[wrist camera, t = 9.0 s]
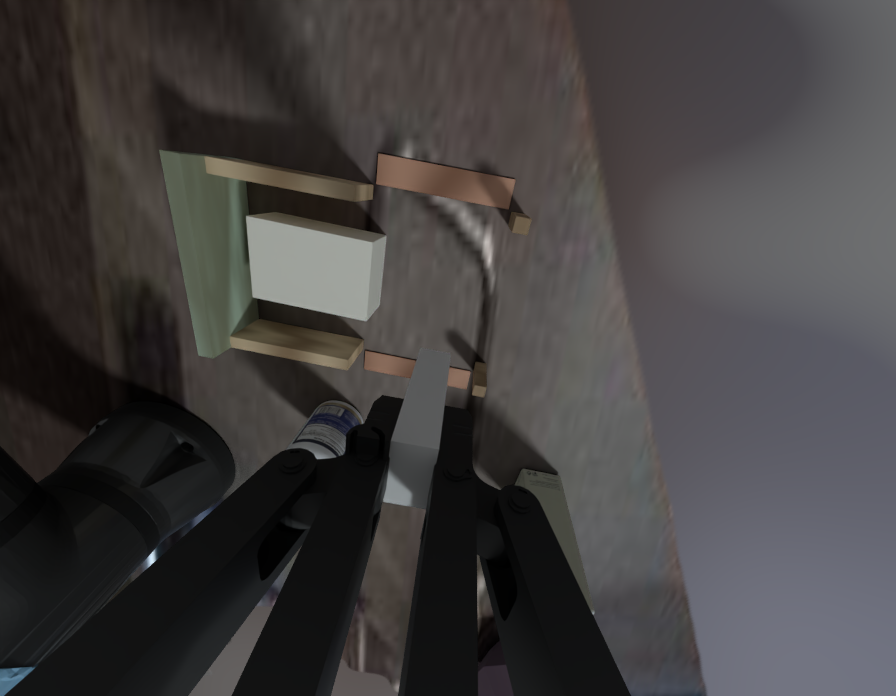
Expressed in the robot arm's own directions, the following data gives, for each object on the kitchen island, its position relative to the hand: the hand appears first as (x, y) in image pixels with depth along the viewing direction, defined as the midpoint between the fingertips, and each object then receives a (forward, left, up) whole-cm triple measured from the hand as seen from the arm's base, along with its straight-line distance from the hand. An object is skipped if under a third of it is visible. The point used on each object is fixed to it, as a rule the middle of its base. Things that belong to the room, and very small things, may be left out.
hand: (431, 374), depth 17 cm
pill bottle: (-9, -16, -13) cm, 23 cm away
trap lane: (-6, 0, -13) cm, 15 cm away
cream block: (-11, +1, -13) cm, 17 cm away
